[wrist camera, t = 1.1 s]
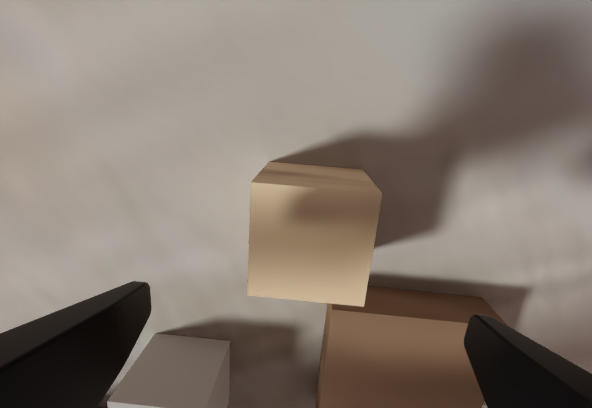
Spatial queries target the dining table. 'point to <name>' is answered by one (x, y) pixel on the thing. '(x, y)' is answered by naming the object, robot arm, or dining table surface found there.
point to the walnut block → (399, 352)
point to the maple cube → (312, 233)
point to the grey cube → (177, 375)
